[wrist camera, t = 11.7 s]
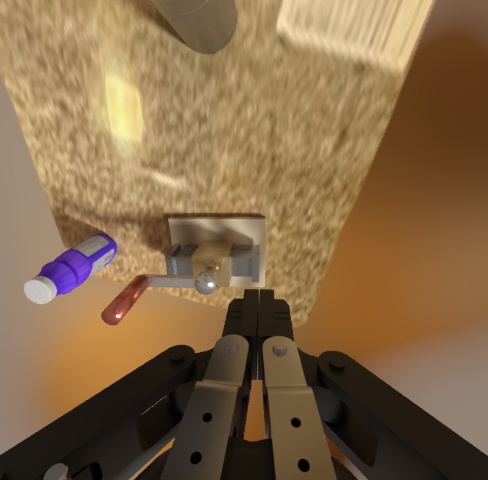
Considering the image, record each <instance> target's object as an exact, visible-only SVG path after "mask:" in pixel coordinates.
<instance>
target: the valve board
mask: <svg viewBox="0 0 488 480" xmlns="http://www.w3.org/2000/svg"><path fill="white" fill-rule="evenodd" d="M169 228H170V236H171V244H172V246H173V245H174V244H180V245H181V249H184V247H185V246H186V244H197V247H198V245H199V244H200V242H201V241H233V250H238V245H249V250H252V249H253V245H260V271H259V282H252V277H236V276H232V278H231V282H230V286H245V287H265V217H170V218H169Z"/></svg>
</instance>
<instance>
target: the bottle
mask: <svg viewBox="0 0 488 480" xmlns="http://www.w3.org/2000/svg"><path fill="white" fill-rule="evenodd" d="M116 251H117V245H116V243H115V242H114V241H113V240H112V239H110V238H109V237H108V236H106V235H104V234H97V235H94V236H92V237H91V238H89V239H87V240H86V241H84V242H82V243H80V244H79V245H77V246H75V247H73V248H71V249H70V250H67V251H65V252H64V253H62V254H61V255H60V256H58V257H57V258H56V259H55V260H54V261H53V262H50V263H47V264H46V265H45V266H43V267H42V269H41V272H40V273H39V275H37V276H35V277H34V278H32V279H31V280H29V281H27V282H26V283H25V286H24V292H25V294H26V296H27V297H28V298H29V299H30V300H32V301H33V302H35V303H38V304H44V303H47V302H49V301H50V300H52V299H53V298H54V297H56V296H57V295H60V294H66V293H69V292H71V291H72V290H73V289H74V288H75V287H78V286H79V285H81V284H82V283H83V282H84V281H85V280H87V279H88V278H89V277H90V276H92V275H93V274H94V273H96V272H97V271H98V270H100V269H101V268H102V267H104V266H105V265H107V264H108V263H109V262H110V261H111V260H112V259H113V257H114V256H115V254H116Z"/></svg>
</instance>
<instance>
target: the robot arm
mask: <svg viewBox="0 0 488 480" xmlns="http://www.w3.org/2000/svg"><path fill="white" fill-rule="evenodd" d="M150 1H151V2H152V3H153V5H154V6H155V7H156V8H157V9H158V11H159V12H160V13H161V14H162V15H163V17H164V18H165V19H166V20H167V21H168V23H169V24H170V25H171V26H172V27H173V29H174V30H175V31H176V32H177V34H178V35H179V36H180V37H181V38H182V39H183V41H184V42H185V43H186V44H187V45H188V46H189V47H190V48H192V49H193V50H194V51H197V52H199V53H204V54H210V53H214V52H217V51H219V50H221V49H222V48H224V47H225V46H226V45H227V44H228V42H229V41H230V39H231V38H232V36H233V33H234V31H235V27H236V22H237V12H236V6H235V1H234V0H150ZM257 356H258V357H257ZM257 358H258V380H263V411H264V426H265V439H264V440H259V441H254V442H250V441H247V440H244V434H245V427H246V420H247V413H248V406H249V399H250V390H251V382H252V380H257ZM163 397H164V398H163ZM162 398H163V399H162ZM160 399H162V400H161V401H159V400H160ZM158 401H159V402H158ZM157 402H158V403H157ZM156 403H157V404H156ZM154 404H155V405H154ZM153 405H154V406H153ZM152 406H153V407H152ZM150 407H151V408H150ZM149 408H150V409H149ZM148 409H149V410H148ZM146 410H148V411H146ZM145 411H146V412H145ZM144 412H145V413H144ZM143 413H144V414H143ZM324 433H325V434H326V435H327V436H328V438H329V439H330V440H331V441H332V442H333V443H334V444H335V445H336V446H337V447H338V448H339V449H340V450H341V451H342V452H343V453H344V455H346V457H347V458H348V459H349V460H350V461H351V462H352V463H353V464H354V465H355V466H356V467H357V468H358V469H359V470H360V472H361V473H362V474H363V475H364V476H365V477H366V478H367V479H368V480H488V456H487V455H486V454H484V453H483V452H481V451H480V450H479V449H477V448H476V447H474V446H473V445H472V444H470V443H469V442H468V441H466V440H465V439H463V438H462V437H461V436H459V435H458V434H456V433H455V432H454V431H452V430H451V429H449V428H448V427H447V426H445V425H444V424H442V423H441V422H440V421H438V420H437V419H435V418H434V417H433V416H431V415H430V414H428V413H427V412H426V411H424V410H423V409H422V408H420V407H419V406H417V405H416V404H415V403H413V402H412V401H410V400H409V399H408V398H406V397H405V396H403V395H402V394H401V393H399V392H398V391H396V390H395V389H393V388H392V387H391V386H390V385H388V384H387V383H385V382H384V381H383V380H381V379H380V378H378V377H377V376H376V375H374V374H373V373H371V372H370V371H368V370H367V369H366V368H364V367H363V366H362V365H360V364H359V363H357V362H356V361H355V360H353V359H352V358H350V357H349V356H348V355H346V354H344V353H341V352H338V351H326V352H324V353H322V354H321V355H320V356H319V358H318V357H315V356H311V355H308V354H306V353H304V352H302V351H301V350H300V349H299V348H298V347H297V346H296V344H295V343H294V337H293V330H292V323H291V316H290V309H289V305H288V304H287V303H286V301H285V300H282V299H274V290H268V289H260V296H259V289H245V290H244V298H243V299H233V301H232V302H231V303H230V304H229V307H228V312H227V316H226V320H225V325H224V329H223V334H222V338H220V339H219V340H218V341H217V342H216V344H215V347H214V348H212V349H210V350H208V351H204V352H200V353H195V351H194V350H193V348H191V347H189V346H187V345H176V346H173V347H170V348H168V349H167V350H165V351H164V352H162V353H160V354H159V355H157V356H156V357H154V358H153V359H151V360H149V361H148V362H146V363H145V364H143V365H142V366H140V367H138V368H137V369H136V370H134V371H132V372H131V373H129V374H127V375H126V376H124V377H123V378H121V379H120V380H118V381H116V382H115V383H113V384H112V385H110V386H109V387H107V388H105V389H104V390H102V391H101V392H99V393H97V394H96V395H94V396H93V397H91V398H90V399H88V400H86V401H85V402H83V403H82V404H80V405H79V406H77V407H75V408H74V409H72V410H71V411H69V412H68V413H66V414H64V415H63V416H61V417H60V418H58V419H57V420H55V421H54V422H52V423H50V424H49V425H47V426H46V427H44V428H42V429H41V430H39V431H38V432H36V433H35V434H33V435H31V436H30V437H28V438H27V439H25V440H24V441H22V442H21V443H19V444H17V445H16V446H14V447H13V448H11V449H9V450H8V451H6V452H5V453H3V454H1V455H0V480H129V479H130V478H131V477H132V476H133V475H134V474H135V473H136V472H137V471H139V470H140V468H142V467H143V466H144V465H145V464H146V463H147V462H148V461H149V460H151V459H152V458H153V457H154V456H155V455H156V454H157V453H158V452H159V451H160V450H161V449H162V448H164V447H165V446H166V445H167V444H168V443H169V442H170V441H171V440H172V439H174V438H175V440H174V442H173V445H172V447H171V448H170V449H168V450H167V451H165V452H163V454H161V455H160V456H158V457H157V458H156V459H155V460H154V461H153V462H152V463H151V464H150V465H149V466H148V467H147V468H146V469H145V470H143V471H142V472H141V473H140V474H139V475H138V476H137V477H136V479H134V480H358V479H357V478H356V477H355V476H354V475H353V474H352V473H351V472H350V471H349V470H348V469H347V468H346V467H345V466H344V465H343V464H342V463H340V462H339V461H338V460H337V459H335V458H334V457H332V456H330V452H329V449H328V445H327V441H326V438H325V434H324Z"/></svg>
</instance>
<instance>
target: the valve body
mask: <svg viewBox="0 0 488 480" xmlns="http://www.w3.org/2000/svg"><path fill="white" fill-rule="evenodd" d="M165 261H166V268H167V275H183V276H198V275H199V273H201V272H202V271H211V272H213V273H214V274H215V275H216V276H217V284H216V287H229V286H230V282H231V278H232V276H236V277H252V282H259V271H260V245H253V249H252V250H249V245H238V250H233V241H201V242H200V244H199V245H198V247H197V244H186V246H185V247H184V249H181V245H180V244H174V245H173V246H172V247H171V248H170V249H169V250H168V251H167V253H166V254H165Z"/></svg>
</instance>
